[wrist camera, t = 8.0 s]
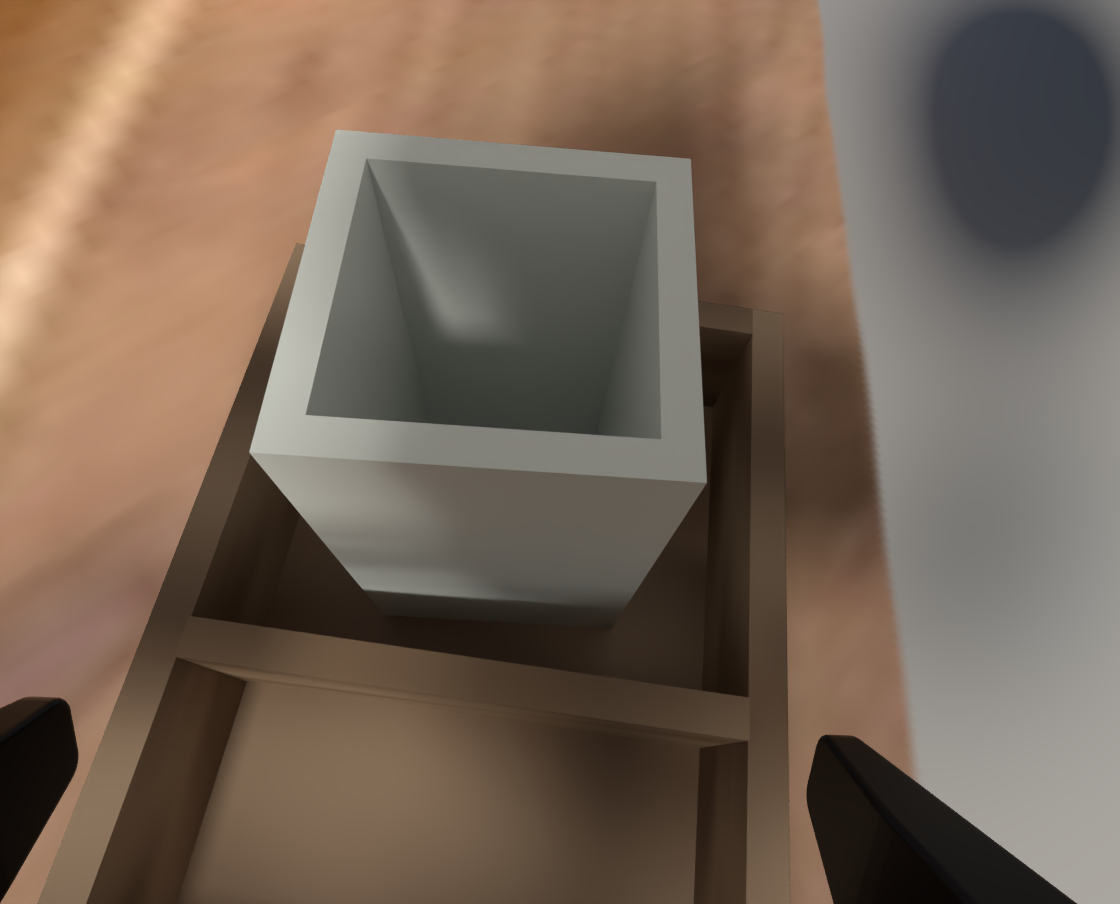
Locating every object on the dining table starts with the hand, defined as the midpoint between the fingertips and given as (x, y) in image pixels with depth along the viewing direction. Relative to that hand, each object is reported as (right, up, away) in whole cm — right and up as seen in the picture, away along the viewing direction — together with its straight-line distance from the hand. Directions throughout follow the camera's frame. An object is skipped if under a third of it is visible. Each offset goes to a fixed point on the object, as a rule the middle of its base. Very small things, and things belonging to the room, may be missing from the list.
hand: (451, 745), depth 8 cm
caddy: (0, +2, +11) cm, 11 cm away
